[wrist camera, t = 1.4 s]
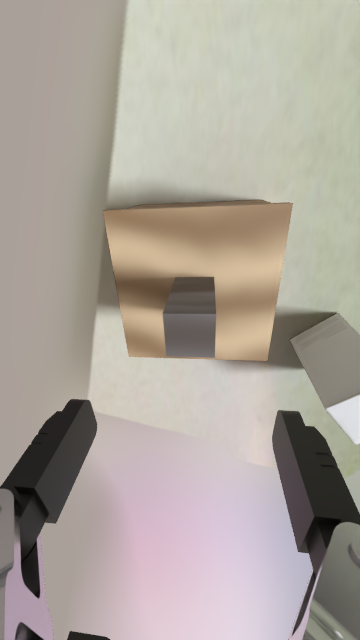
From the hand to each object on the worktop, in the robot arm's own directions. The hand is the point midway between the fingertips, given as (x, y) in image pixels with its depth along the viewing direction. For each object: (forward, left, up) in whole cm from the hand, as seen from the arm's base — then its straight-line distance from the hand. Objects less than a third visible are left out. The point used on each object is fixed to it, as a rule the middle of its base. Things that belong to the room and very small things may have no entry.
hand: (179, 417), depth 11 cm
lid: (0, 0, -15) cm, 15 cm away
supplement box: (+12, +18, -24) cm, 33 cm away
